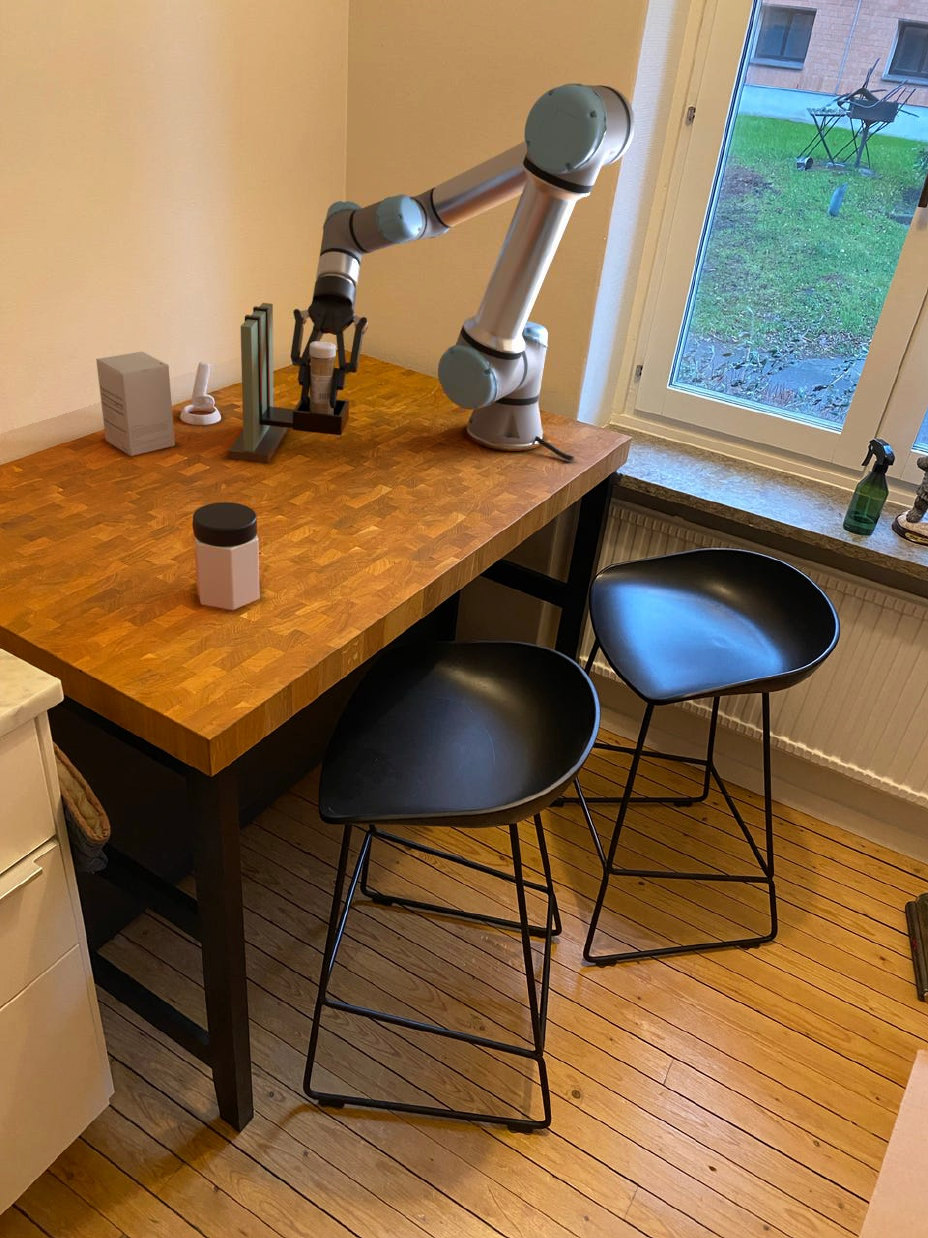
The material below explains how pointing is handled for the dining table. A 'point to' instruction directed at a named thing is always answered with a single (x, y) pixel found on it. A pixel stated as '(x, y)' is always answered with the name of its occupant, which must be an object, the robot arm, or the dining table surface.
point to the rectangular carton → (136, 402)
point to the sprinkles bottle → (321, 376)
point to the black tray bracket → (301, 414)
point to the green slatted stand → (256, 394)
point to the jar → (226, 555)
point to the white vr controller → (201, 400)
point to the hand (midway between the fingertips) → (317, 403)
